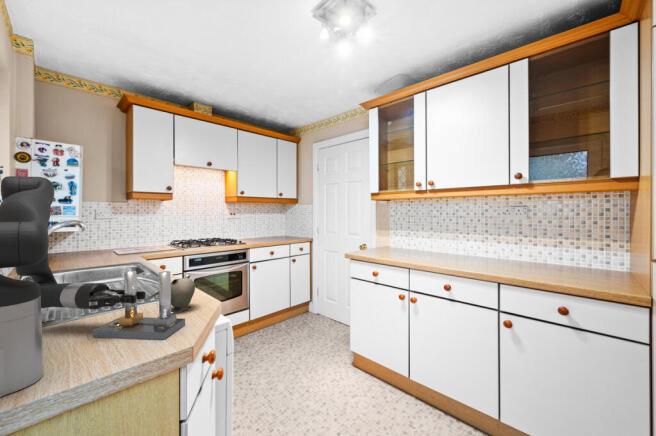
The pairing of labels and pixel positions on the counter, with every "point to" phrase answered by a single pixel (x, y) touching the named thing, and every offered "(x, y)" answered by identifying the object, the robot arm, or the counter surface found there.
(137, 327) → the pitch plate
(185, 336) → the counter surface
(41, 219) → the robot arm
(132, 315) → the sliding leg
